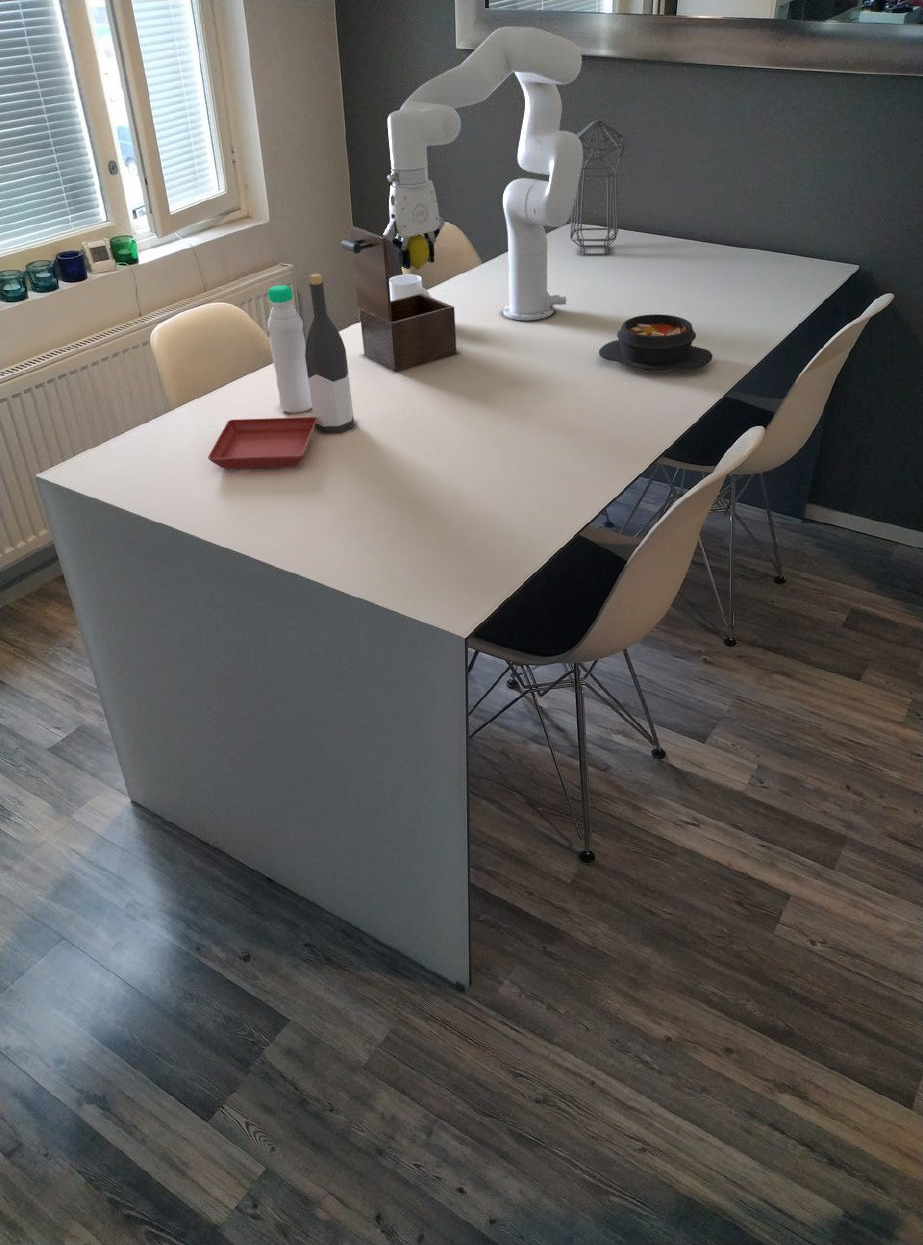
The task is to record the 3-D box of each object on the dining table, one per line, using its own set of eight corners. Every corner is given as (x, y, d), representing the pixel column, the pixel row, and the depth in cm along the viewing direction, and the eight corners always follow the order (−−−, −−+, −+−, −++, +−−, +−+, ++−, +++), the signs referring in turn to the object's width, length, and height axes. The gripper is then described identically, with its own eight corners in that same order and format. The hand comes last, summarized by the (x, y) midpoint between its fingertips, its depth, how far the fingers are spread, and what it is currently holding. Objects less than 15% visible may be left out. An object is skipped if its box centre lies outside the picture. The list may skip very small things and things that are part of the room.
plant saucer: (231, 433, 203) (228, 418, 201) (319, 431, 202) (317, 415, 200) (209, 474, 188) (206, 458, 186) (305, 472, 187) (303, 455, 185)
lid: (352, 225, 220) (330, 230, 217) (385, 237, 210) (362, 242, 208) (360, 306, 230) (339, 312, 227) (392, 321, 220) (370, 327, 218)
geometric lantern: (565, 258, 293) (567, 126, 273) (570, 243, 306) (571, 116, 285) (620, 258, 290) (626, 124, 270) (622, 243, 303) (628, 114, 283)
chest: (424, 338, 243) (420, 293, 237) (456, 353, 234) (454, 306, 228) (364, 355, 236) (359, 309, 230) (395, 371, 226) (391, 324, 220)
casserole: (720, 354, 226) (724, 317, 221) (699, 384, 212) (703, 345, 207) (613, 342, 235) (615, 306, 230) (586, 370, 222) (587, 333, 217)
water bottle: (319, 402, 214) (303, 283, 200) (305, 415, 209) (287, 294, 194) (290, 399, 216) (272, 281, 202) (274, 412, 211) (254, 292, 197)
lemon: (404, 267, 224) (401, 229, 219) (429, 265, 224) (426, 227, 220) (405, 274, 220) (402, 236, 215) (431, 272, 220) (428, 234, 215)
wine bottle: (361, 420, 205) (345, 270, 188) (341, 436, 200) (322, 283, 182) (328, 415, 208) (308, 267, 191) (307, 430, 203) (285, 279, 185)
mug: (442, 320, 254) (440, 278, 248) (423, 330, 248) (420, 288, 242) (405, 313, 260) (402, 272, 254) (385, 322, 254) (381, 281, 248)
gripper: (385, 186, 204) (393, 276, 215) (454, 171, 212) (459, 259, 223) (366, 181, 209) (375, 269, 220) (434, 166, 217) (439, 252, 228)
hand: (417, 263), depth 221 cm, fingers closed on lemon, 5 cm apart
